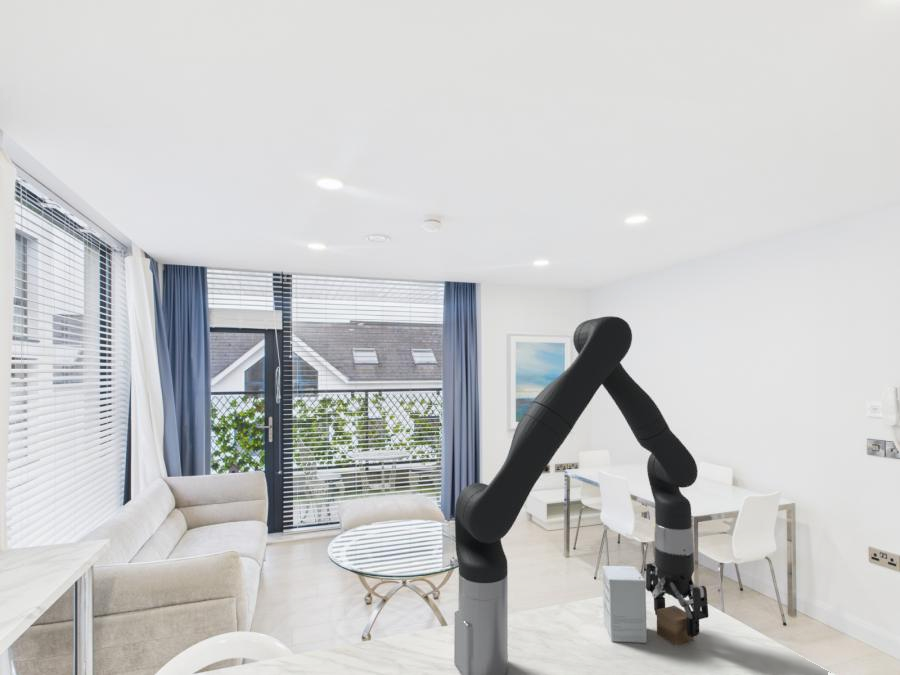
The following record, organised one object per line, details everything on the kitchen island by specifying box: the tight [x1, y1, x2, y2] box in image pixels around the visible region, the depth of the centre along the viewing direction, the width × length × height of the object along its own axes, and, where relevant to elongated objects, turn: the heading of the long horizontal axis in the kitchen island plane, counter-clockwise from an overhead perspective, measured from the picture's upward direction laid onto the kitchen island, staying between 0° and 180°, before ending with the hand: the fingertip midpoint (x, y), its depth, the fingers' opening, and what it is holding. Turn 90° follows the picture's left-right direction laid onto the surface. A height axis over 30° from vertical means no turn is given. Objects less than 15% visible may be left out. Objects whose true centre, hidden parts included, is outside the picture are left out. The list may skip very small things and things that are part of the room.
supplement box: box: [602, 565, 648, 644], centre depth 105 cm, size 7×7×13 cm
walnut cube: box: [656, 604, 695, 647], centre depth 103 cm, size 5×5×5 cm
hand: (676, 625), depth 103 cm, fingers open, 8 cm apart
